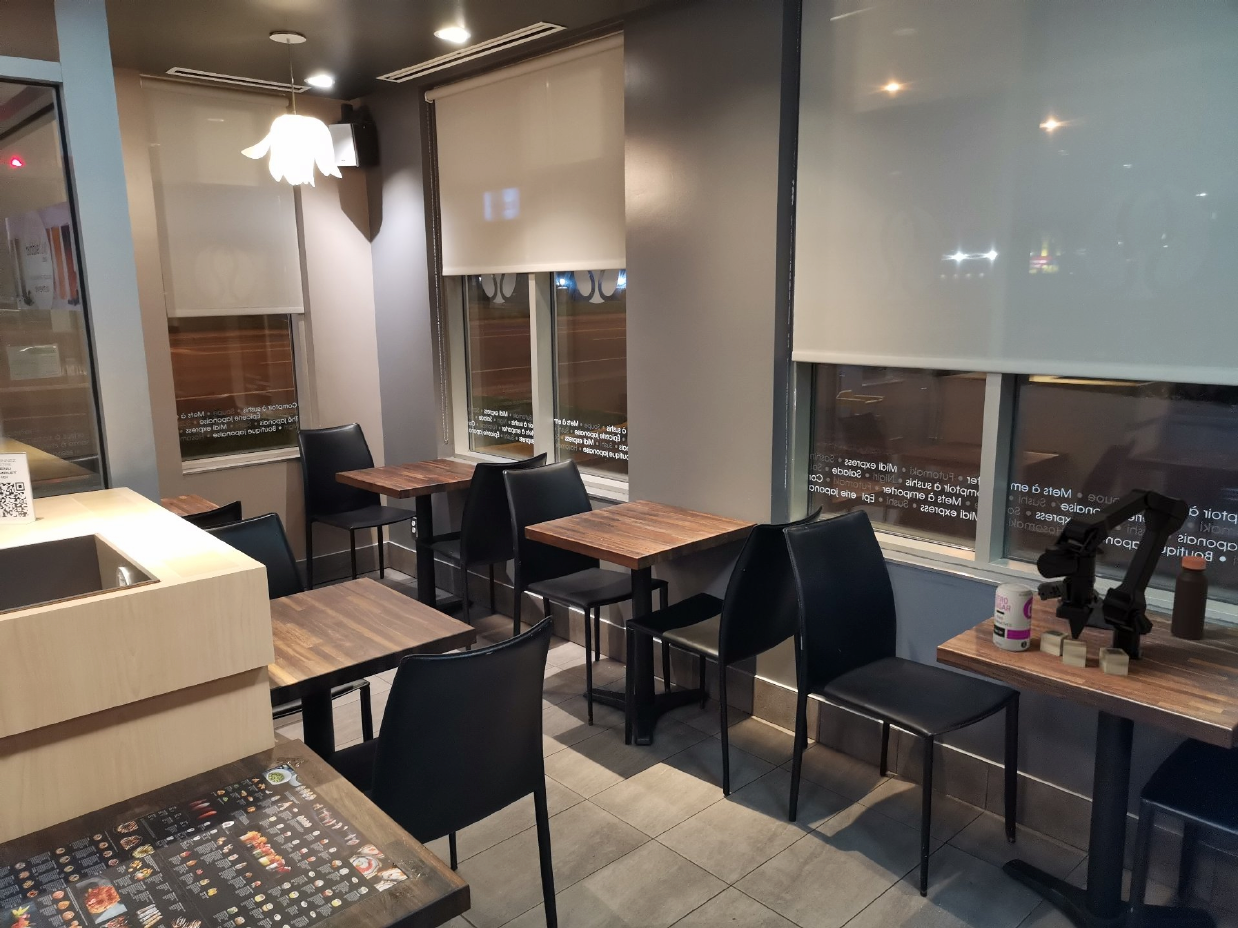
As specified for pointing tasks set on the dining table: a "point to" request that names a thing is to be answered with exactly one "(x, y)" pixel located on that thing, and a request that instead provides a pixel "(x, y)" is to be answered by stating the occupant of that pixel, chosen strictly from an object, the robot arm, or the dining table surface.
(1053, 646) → the labelled block
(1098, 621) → the dark slate chunk
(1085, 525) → the robot arm
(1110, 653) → the labelled block
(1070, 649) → the plain block
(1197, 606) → the bottle
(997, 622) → the supplement can
